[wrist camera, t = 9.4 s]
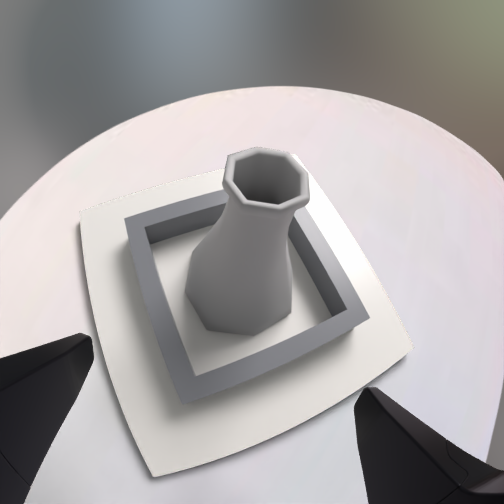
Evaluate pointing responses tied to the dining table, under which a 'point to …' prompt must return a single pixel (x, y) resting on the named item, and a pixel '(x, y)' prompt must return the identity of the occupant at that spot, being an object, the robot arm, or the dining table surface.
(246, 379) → the collar board
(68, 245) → the dining table surface
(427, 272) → the dining table surface
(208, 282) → the flask
